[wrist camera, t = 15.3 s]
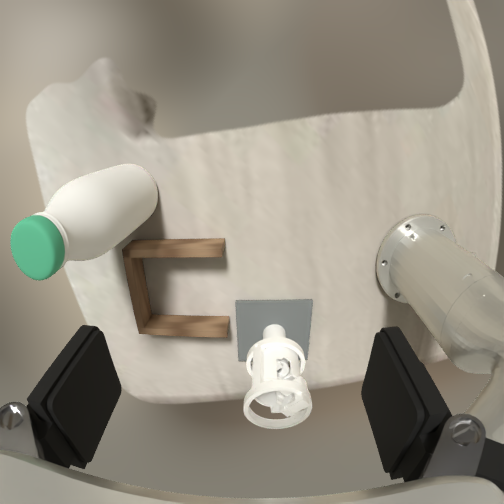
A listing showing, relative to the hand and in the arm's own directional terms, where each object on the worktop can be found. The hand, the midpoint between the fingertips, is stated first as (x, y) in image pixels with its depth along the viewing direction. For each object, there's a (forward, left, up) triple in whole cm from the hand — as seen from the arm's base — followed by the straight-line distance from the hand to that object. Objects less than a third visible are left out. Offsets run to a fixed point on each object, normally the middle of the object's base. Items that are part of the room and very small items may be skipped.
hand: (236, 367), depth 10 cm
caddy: (+9, +11, -28) cm, 32 cm away
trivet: (-3, +19, -28) cm, 34 cm away
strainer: (-3, +18, -28) cm, 34 cm away
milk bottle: (+15, -1, -28) cm, 32 cm away
